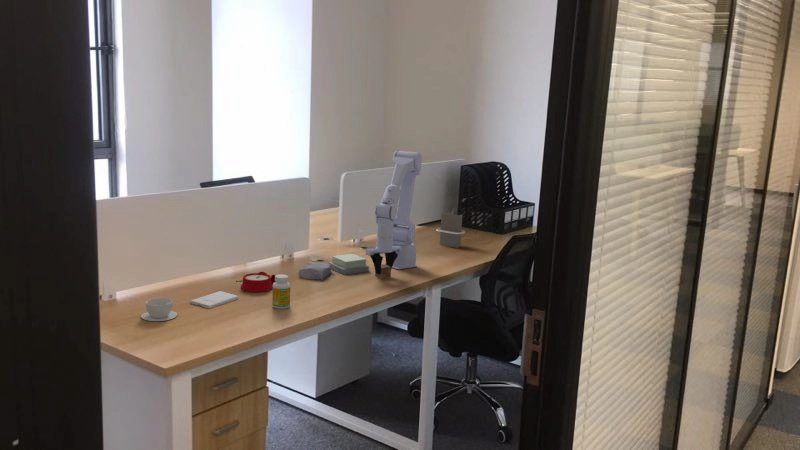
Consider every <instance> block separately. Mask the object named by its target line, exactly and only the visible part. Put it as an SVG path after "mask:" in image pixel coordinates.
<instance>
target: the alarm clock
mask: <svg viewBox="0 0 800 450" xmlns="http://www.w3.org/2000/svg"><path fill="white" fill-rule="evenodd" d="M276 275H277V274H272V275H270V274H268V273H267V272H265V271H260V272H254V273H253V272H252V273H251V272H250V273H246V274H244V275H243V277H242V280H236V281H235V282H236V283H237V282H239V283H241V282H242V283H241V285H240V289H241V290H242V291H244V292H250V293H261V292H262V293H263V292H264V293H265V292H269V291H271V290H273V283H274V282H276V281H275V276H276Z"/></svg>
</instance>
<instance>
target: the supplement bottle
mask: <svg viewBox="0 0 800 450" xmlns="http://www.w3.org/2000/svg"><path fill="white" fill-rule="evenodd" d="M275 275H276V276H275V281H276V282H274V283H273V288H272V293H271V294H272V299H271V300H272V301H271V303H272V305H271V306H272V307H273V308H274V309H280V310H283V309H288V308H290V306H291V284H290V282H289V275H287V274H283V273H282V274H275Z"/></svg>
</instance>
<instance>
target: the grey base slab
mask: <svg viewBox="0 0 800 450" xmlns="http://www.w3.org/2000/svg"><path fill="white" fill-rule="evenodd" d="M327 264H331V270H332V271H333V270H334V271H335V272H337V273H339V274H342V275H350V274H357V273H364V272H365V273H366V272H369V271H370V266H369V265H367V264H366V266H360V267H352V268H343V267H341V266H339V265H337V264H334V263H332V261H329V262H328V263H327Z"/></svg>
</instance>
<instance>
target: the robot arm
mask: <svg viewBox="0 0 800 450" xmlns="http://www.w3.org/2000/svg"><path fill="white" fill-rule="evenodd" d="M392 154H393V155H392V165H393V169H394V170H393V172H392V173H393V174H392V176H391V181H390V185H387V186H386V187H385V190H384V193H383V195H382V198H381V200H380V203H377V204H376V207H375V211H374V216H375V223H376V225H377V227H376V245H375V247H371V248H367V249H365V255H366V256H368V257H370V258H371V261H372V262H373V263H372V265H373V266H374V272H375V273H377V274H380V272H381V265H382V264H383V263H382V262H383V259H384V258H385V264H386V265H388V266H390V267H391V270H392V268H393V269H396V270H401V269H402V270H403V269H410V268H415V267H416V268H417V264H416V261H417V260H416V259H417V248H416V247H417V246H416V245H415V243H414V242H415V239H416V223H414V222H413V221H412V220H411V219H410V216H411V210H412V202H413V196H414V189H415V182H416V177H417V176H419V175H420V174H421V171H422V170H421V169H422V163H423V157H422V154H421V153H420V152H419V151H416V152H414V151H405V150H404V151H403V150H395V151H394V153H392ZM382 255H384V257H383V256H382ZM375 273H374V274H375Z"/></svg>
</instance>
